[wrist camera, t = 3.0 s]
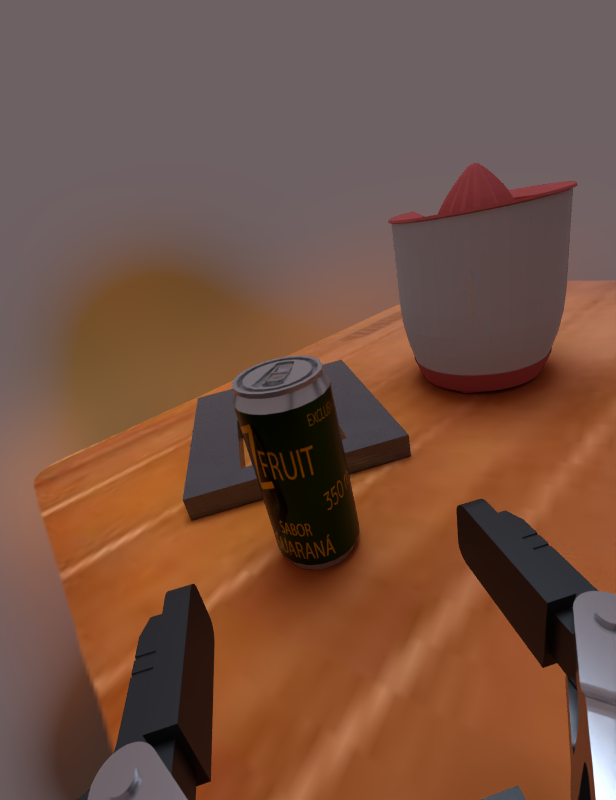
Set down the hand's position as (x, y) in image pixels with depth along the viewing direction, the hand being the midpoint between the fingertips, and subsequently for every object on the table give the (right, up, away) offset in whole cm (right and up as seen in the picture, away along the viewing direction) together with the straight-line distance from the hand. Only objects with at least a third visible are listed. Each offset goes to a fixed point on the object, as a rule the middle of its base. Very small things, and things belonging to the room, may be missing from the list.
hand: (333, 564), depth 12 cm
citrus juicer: (+18, +8, +33) cm, 38 cm away
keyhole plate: (-3, +2, +29) cm, 29 cm away
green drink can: (0, -5, +15) cm, 15 cm away
